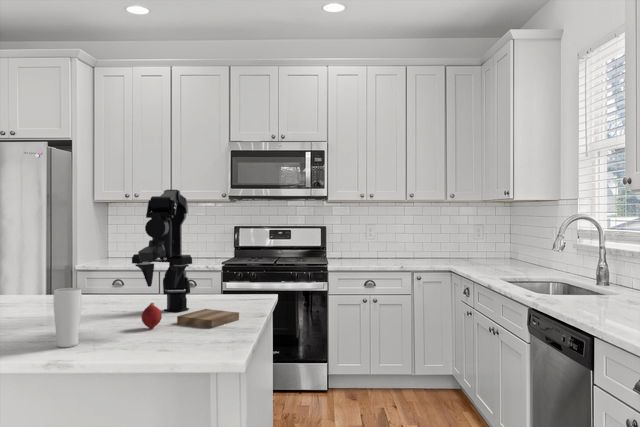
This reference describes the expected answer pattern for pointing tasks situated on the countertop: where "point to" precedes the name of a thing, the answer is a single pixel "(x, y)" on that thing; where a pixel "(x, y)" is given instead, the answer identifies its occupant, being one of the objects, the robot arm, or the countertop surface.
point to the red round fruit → (151, 316)
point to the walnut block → (208, 318)
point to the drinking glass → (67, 316)
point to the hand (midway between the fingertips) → (161, 287)
